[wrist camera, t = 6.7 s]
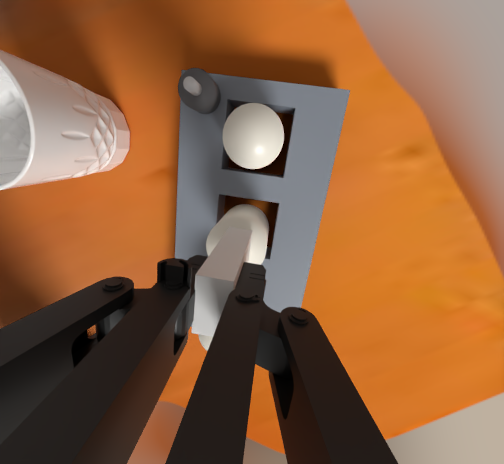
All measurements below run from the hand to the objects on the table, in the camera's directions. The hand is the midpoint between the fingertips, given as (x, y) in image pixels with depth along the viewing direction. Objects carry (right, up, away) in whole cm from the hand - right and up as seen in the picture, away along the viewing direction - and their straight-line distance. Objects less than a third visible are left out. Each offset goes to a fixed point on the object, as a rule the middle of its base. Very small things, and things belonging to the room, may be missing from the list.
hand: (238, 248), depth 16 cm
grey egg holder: (+1, +2, +8) cm, 8 cm away
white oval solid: (0, +1, +5) cm, 5 cm away
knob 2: (+1, +9, +5) cm, 10 cm away
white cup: (-14, +10, +7) cm, 18 cm away
